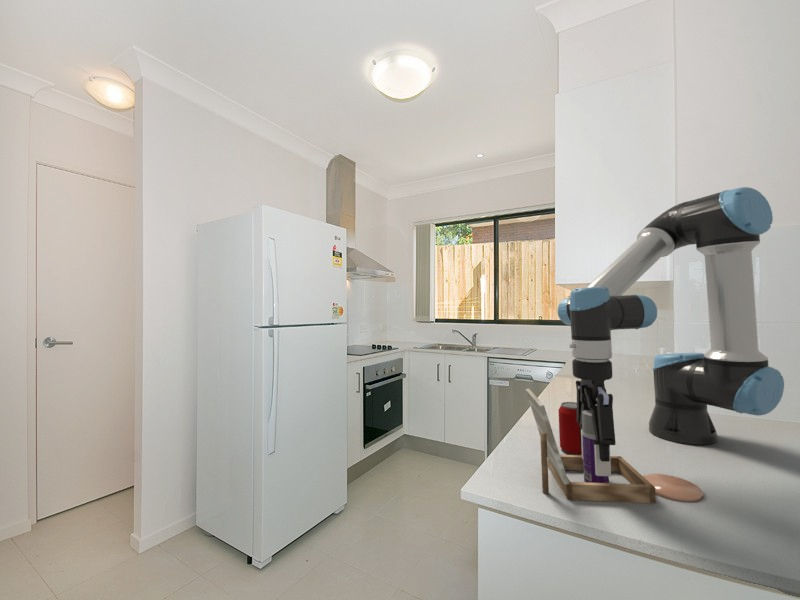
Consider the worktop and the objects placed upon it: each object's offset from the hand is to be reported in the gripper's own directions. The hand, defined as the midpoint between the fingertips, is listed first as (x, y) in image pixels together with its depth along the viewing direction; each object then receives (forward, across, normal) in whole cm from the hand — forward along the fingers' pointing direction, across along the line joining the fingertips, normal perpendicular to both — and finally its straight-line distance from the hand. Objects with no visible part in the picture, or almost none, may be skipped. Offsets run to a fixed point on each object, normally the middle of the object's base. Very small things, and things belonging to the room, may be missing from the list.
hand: (595, 466), depth 76 cm
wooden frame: (+4, 0, -2) cm, 4 cm away
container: (+4, 0, 0) cm, 4 cm away
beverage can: (+4, -17, +1) cm, 17 cm away
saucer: (+4, +1, +14) cm, 14 cm away
